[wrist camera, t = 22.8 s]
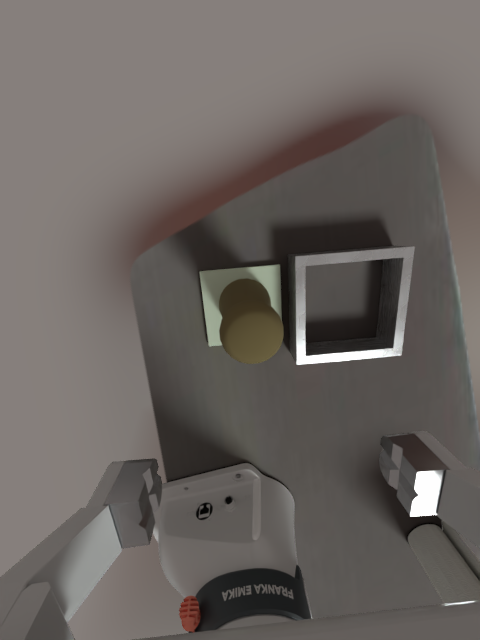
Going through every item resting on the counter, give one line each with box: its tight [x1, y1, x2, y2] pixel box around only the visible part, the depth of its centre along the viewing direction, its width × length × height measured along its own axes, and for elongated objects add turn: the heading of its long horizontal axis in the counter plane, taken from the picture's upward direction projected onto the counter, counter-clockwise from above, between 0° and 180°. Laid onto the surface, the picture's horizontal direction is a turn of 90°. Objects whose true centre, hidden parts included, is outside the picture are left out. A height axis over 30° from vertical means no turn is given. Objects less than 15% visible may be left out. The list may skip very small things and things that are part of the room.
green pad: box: [199, 264, 282, 346], centre depth 30 cm, size 9×9×1 cm
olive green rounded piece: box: [219, 278, 284, 364], centre depth 24 cm, size 6×6×11 cm
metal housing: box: [288, 246, 415, 365], centre depth 29 cm, size 12×12×4 cm
